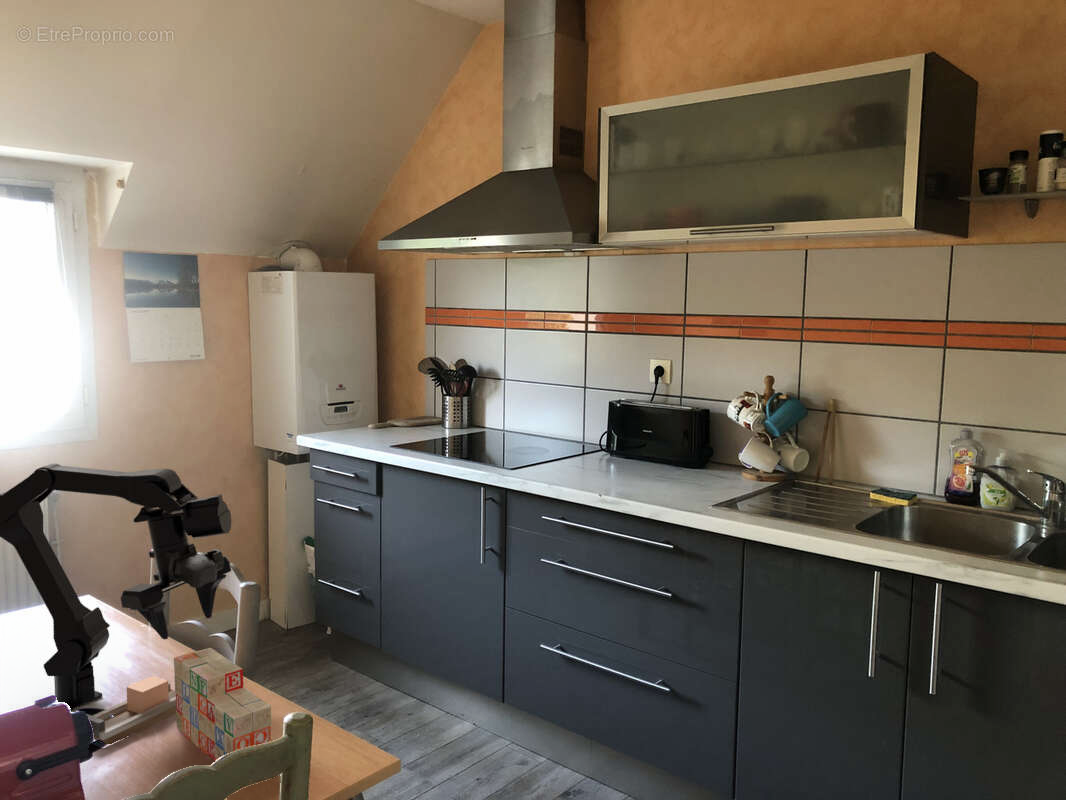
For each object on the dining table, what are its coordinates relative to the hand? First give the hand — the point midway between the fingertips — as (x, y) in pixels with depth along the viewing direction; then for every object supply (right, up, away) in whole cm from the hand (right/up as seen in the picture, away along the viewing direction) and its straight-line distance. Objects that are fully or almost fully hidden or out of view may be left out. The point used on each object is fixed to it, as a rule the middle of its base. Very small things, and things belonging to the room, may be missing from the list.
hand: (187, 628), depth 149 cm
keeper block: (-5, -12, -5) cm, 14 cm away
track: (-6, -14, -7) cm, 16 cm away
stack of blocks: (+11, -15, -14) cm, 23 cm away
